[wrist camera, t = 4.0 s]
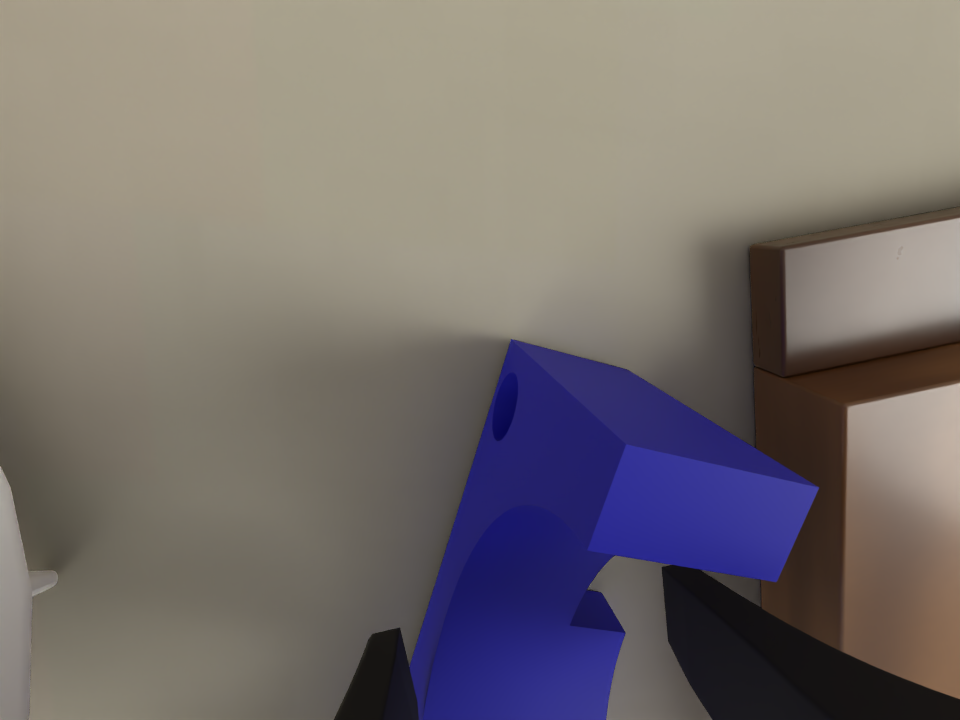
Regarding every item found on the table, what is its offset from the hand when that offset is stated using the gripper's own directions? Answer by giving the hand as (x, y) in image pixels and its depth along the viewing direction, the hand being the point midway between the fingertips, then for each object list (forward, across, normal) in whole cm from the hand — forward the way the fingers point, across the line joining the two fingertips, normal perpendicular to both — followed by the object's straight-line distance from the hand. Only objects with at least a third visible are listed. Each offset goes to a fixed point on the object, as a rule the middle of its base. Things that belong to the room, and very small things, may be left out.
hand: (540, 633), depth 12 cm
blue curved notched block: (+2, 0, 0) cm, 2 cm away
